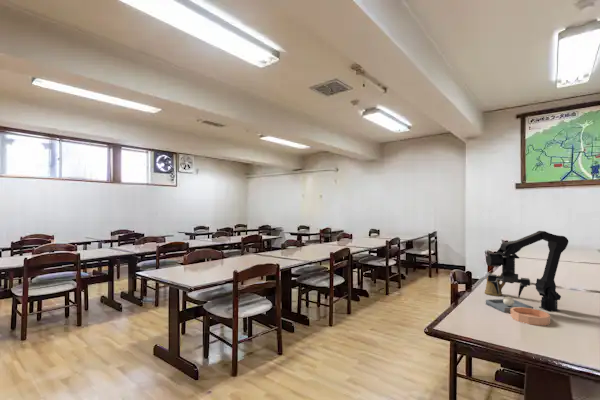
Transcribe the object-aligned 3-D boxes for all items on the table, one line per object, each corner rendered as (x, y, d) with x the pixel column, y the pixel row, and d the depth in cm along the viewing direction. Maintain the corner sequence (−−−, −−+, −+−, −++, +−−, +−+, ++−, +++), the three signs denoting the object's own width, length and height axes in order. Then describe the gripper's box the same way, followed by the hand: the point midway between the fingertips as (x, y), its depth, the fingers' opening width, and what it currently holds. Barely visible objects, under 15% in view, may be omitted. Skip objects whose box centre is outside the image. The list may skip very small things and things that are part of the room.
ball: (509, 304, 173) (509, 295, 174) (516, 307, 168) (516, 297, 169) (500, 304, 173) (500, 295, 173) (507, 307, 168) (507, 298, 168)
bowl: (531, 313, 162) (531, 306, 162) (558, 324, 147) (558, 317, 147) (503, 314, 160) (503, 307, 160) (528, 325, 145) (528, 318, 145)
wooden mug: (506, 298, 188) (506, 268, 188) (482, 293, 198) (482, 264, 199) (512, 296, 193) (512, 266, 194) (488, 291, 204) (488, 263, 204)
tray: (512, 303, 179) (512, 299, 179) (533, 311, 165) (533, 307, 165) (485, 304, 177) (485, 299, 177) (504, 312, 163) (504, 307, 163)
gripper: (487, 266, 170) (487, 296, 169) (530, 271, 159) (530, 302, 159) (488, 263, 179) (488, 291, 179) (529, 267, 168) (529, 297, 168)
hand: (508, 295), depth 171 cm, fingers open, 9 cm apart
